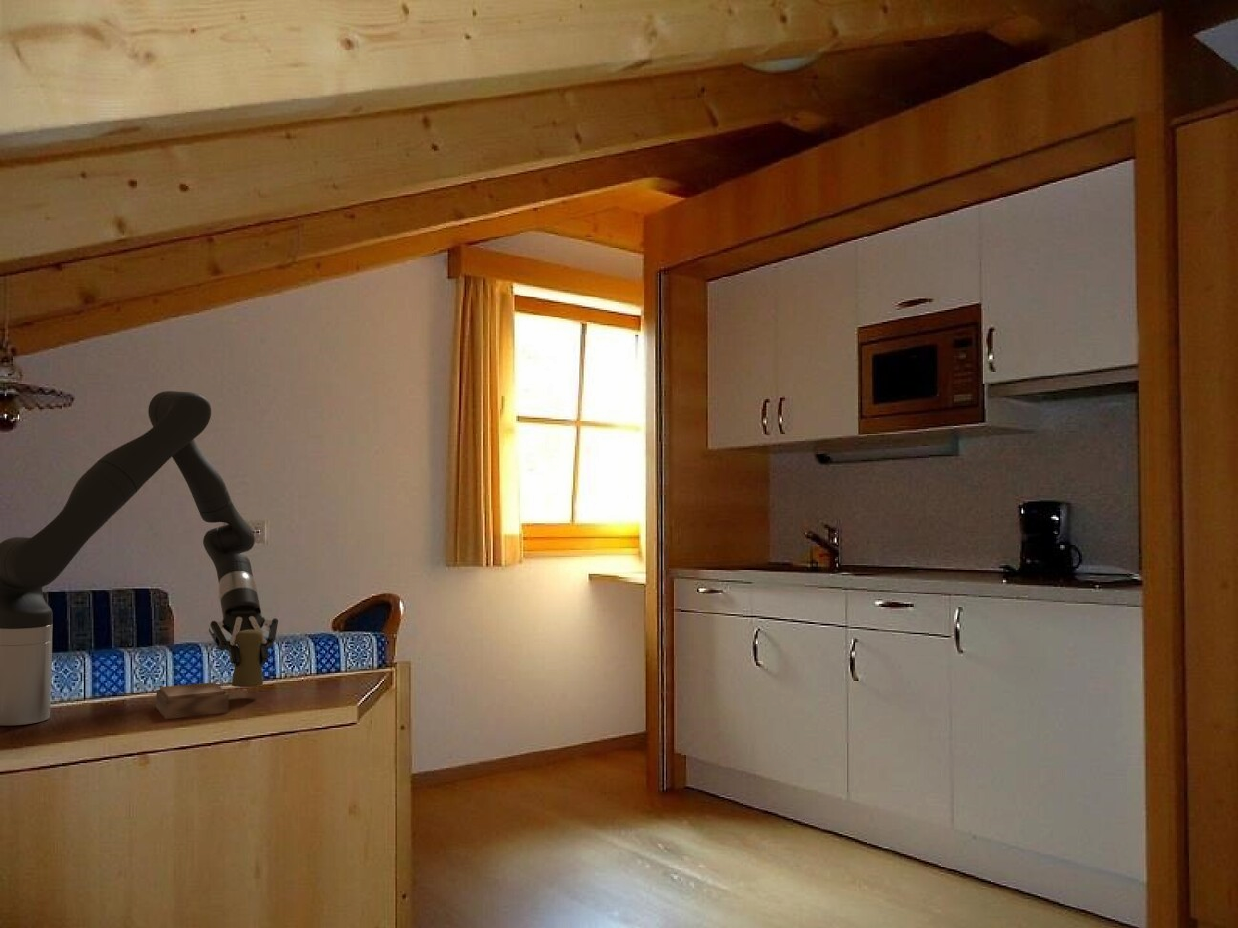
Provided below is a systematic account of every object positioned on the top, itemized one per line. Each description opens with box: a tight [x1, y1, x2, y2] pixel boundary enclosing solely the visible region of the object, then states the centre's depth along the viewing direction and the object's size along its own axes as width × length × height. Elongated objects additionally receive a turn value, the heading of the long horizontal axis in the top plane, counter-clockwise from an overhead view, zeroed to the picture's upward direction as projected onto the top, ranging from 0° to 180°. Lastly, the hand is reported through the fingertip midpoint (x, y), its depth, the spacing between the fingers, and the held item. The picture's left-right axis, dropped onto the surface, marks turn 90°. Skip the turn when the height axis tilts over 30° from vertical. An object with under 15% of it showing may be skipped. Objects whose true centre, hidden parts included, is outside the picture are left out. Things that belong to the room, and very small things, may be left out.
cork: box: [231, 630, 264, 688], centre depth 203 cm, size 6×6×11 cm
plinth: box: [155, 681, 230, 720], centre depth 191 cm, size 11×11×4 cm
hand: (250, 662), depth 201 cm, fingers closed on cork, 4 cm apart
